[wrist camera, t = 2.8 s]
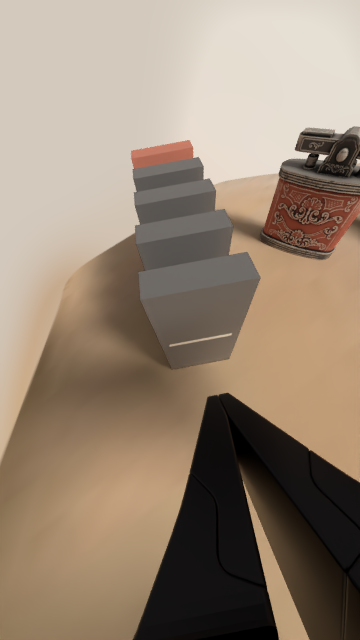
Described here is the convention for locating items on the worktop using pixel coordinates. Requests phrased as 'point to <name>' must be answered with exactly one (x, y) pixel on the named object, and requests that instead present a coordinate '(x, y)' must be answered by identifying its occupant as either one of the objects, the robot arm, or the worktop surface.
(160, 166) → the domino
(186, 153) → the domino
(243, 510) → the robot arm
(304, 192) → the lighter
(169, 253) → the domino
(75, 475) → the worktop surface
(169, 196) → the domino
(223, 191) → the worktop surface
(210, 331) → the domino
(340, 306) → the worktop surface
